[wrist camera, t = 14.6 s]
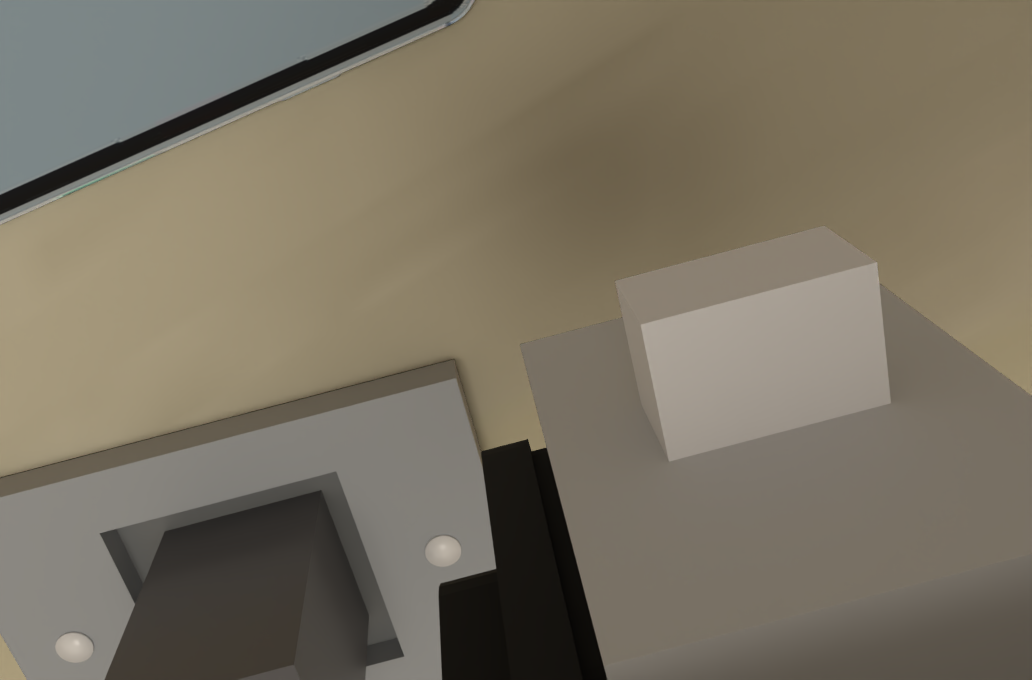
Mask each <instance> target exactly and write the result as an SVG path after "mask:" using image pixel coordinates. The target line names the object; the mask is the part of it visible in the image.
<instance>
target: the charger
mask: <svg viewBox="0 0 1032 680" xmlns="http://www.w3.org/2000/svg"><path fill="white" fill-rule="evenodd" d="M368 625H369V614H368V611H367V608H366V606H365V603H364V601H363V598H362V595H361V593H360V590H359V588H358V585H357V582H356V580H355V577H354V574H353V572H352V569H351V567H350V564H349V561H348V559H347V556H346V553H345V551H344V548H343V546H342V543H341V540H340V538H339V535H338V532H337V530H336V527H335V525H334V522H333V519H332V517H331V514H330V512H329V509H328V506H327V504H326V501H325V498H324V496H323V493H322V491H321V490H319V491H316V492H312V493H308V494H304V495H300V496H297V497H293V498H289V499H285V500H282V501H278V502H274V503H270V504H266V505H263V506H259V507H255V508H251V509H247V510H244V511H240V512H236V513H232V514H228V515H225V516H221V517H217V518H213V519H210V520H206V521H202V522H198V523H194V524H191V525H187V526H183V527H179V528H175V529H172V530H168V531H165V532H164V534H163V537H162V539H161V542H160V544H159V547H158V549H157V552H156V554H155V557H154V559H153V561H152V564H151V566H150V569H149V571H148V574H147V576H146V579H145V581H144V584H143V586H142V589H141V591H140V593H139V596H138V598H137V601H136V603H135V606H134V608H133V611H132V613H131V616H130V618H129V621H128V623H127V625H126V628H125V630H124V633H123V635H122V638H121V640H120V643H119V645H118V648H117V650H116V653H115V655H114V657H113V660H112V662H111V665H110V667H109V670H108V672H107V675H106V677H105V680H365V676H366V659H367V642H368Z"/></svg>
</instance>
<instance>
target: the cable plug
mask: <svg viewBox="0 0 1032 680" xmlns="http://www.w3.org/2000/svg"><path fill="white" fill-rule="evenodd" d="M615 284H616V289H617V294H618V298H619V303H620V308H621V312H622V318H618V319H614V320H610V321H607V322H603V323H599V324H595V325H591V326H588V327H584V328H580V329H576V330H572V331H569V332H565V333H561V334H557V335H553V336H550V337H546V338H542V339H538V340H534V341H531V342H527V343H523V344H520V347H521V351H522V355H523V358H524V362H525V366H526V370H527V374H528V378H529V381H530V385H531V389H532V393H533V397H534V401H535V404H536V408H537V412H538V416H539V420H540V424H541V427H542V431H543V435H544V439H545V443H546V447H547V450H548V454H549V458H550V462H551V466H552V470H553V473H554V477H555V481H556V485H557V489H558V492H559V496H560V500H561V504H562V508H563V512H564V515H565V519H566V523H567V527H568V531H569V535H570V538H571V542H572V546H573V550H574V554H575V558H576V561H577V565H578V569H579V573H580V577H581V581H582V584H583V588H584V592H585V596H586V600H587V604H588V607H589V611H590V615H591V619H592V623H593V627H594V630H595V634H596V638H597V642H598V646H599V649H600V653H601V657H602V661H603V665H604V669H605V672H606V676H607V680H1032V396H1031V395H1030V394H1029V393H1027V392H1026V391H1025V390H1023V389H1022V388H1021V387H1019V386H1018V385H1016V384H1015V383H1014V382H1012V381H1011V380H1010V379H1008V378H1007V377H1006V376H1004V375H1003V374H1002V373H1000V372H999V371H997V370H996V369H995V368H993V367H992V366H991V365H989V364H988V363H987V362H985V361H984V360H983V359H981V358H980V357H979V356H977V355H976V354H974V353H973V352H972V351H970V350H969V349H968V348H966V347H965V346H964V345H962V344H961V343H960V342H958V341H957V340H955V339H954V338H953V337H951V336H950V335H949V334H947V333H946V332H945V331H943V330H942V329H941V328H939V327H938V326H936V325H935V324H934V323H932V322H931V321H930V320H928V319H927V318H926V317H924V316H923V315H922V314H920V313H919V312H918V311H916V310H915V309H913V308H912V307H911V306H909V305H908V304H907V303H905V302H904V301H903V300H901V299H900V298H899V297H897V296H896V295H894V294H893V293H892V292H890V291H889V290H888V289H886V288H885V287H884V286H882V285H881V284H880V283H879V276H878V266H877V262H876V261H875V260H873V259H872V258H870V257H869V256H867V255H866V254H865V253H863V252H862V251H860V250H859V249H857V248H856V247H854V246H853V245H852V244H850V243H849V242H847V241H846V240H844V239H843V238H842V237H840V236H839V235H837V234H836V233H834V232H833V231H831V230H830V229H829V228H827V227H826V226H821V227H817V228H813V229H809V230H805V231H802V232H798V233H794V234H790V235H787V236H783V237H779V238H775V239H771V240H768V241H764V242H760V243H756V244H752V245H749V246H745V247H741V248H737V249H733V250H730V251H726V252H722V253H718V254H714V255H711V256H707V257H703V258H699V259H695V260H692V261H688V262H684V263H680V264H677V265H673V266H669V267H665V268H661V269H658V270H654V271H650V272H646V273H642V274H639V275H635V276H631V277H627V278H623V279H620V280H616V281H615Z"/></svg>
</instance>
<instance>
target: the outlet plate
mask: <svg viewBox="0 0 1032 680" xmlns="http://www.w3.org/2000/svg"><path fill="white" fill-rule="evenodd" d="M319 490H321V491H322V493H323V496H324V498H325V501H326V504H327V506H328V509H329V512H330V514H331V517H332V519H333V522H334V525H335V527H336V530H337V532H338V535H339V538H340V540H341V543H342V546H343V548H344V551H345V553H346V556H347V559H348V561H349V564H350V567H351V569H352V572H353V574H354V577H355V580H356V582H357V585H358V588H359V590H360V593H361V595H362V598H363V601H364V603H365V606H366V608H367V611H368V614H369V625H368V642H367V659H366V676H365V680H442V668H441V645H440V621H439V597H438V596H439V586H440V584H441V583H444V582H448V581H452V580H455V579H459V578H463V577H467V576H471V575H474V574H478V573H482V572H486V571H490V570H493V569H496V563H495V555H494V548H493V540H492V533H491V526H490V518H489V511H488V503H487V496H486V488H485V481H484V473H483V466H482V459H481V449H480V446H479V443H478V439H477V436H476V432H475V429H474V426H473V422H472V419H471V415H470V412H469V409H468V405H467V402H466V398H465V395H464V391H463V388H462V385H461V381H460V378H459V374H458V371H457V368H456V364H455V361H454V359H453V360H449V361H446V362H442V363H438V364H434V365H430V366H427V367H423V368H419V369H415V370H411V371H407V372H404V373H400V374H396V375H392V376H388V377H385V378H381V379H377V380H373V381H369V382H365V383H362V384H358V385H354V386H350V387H346V388H343V389H339V390H335V391H331V392H327V393H323V394H320V395H316V396H312V397H308V398H304V399H300V400H297V401H293V402H289V403H285V404H281V405H278V406H274V407H270V408H266V409H262V410H258V411H255V412H251V413H247V414H243V415H239V416H236V417H232V418H228V419H224V420H220V421H216V422H213V423H209V424H205V425H201V426H197V427H194V428H190V429H186V430H182V431H178V432H174V433H171V434H167V435H163V436H159V437H155V438H152V439H148V440H144V441H140V442H136V443H132V444H129V445H125V446H121V447H117V448H113V449H110V450H106V451H102V452H98V453H94V454H90V455H87V456H83V457H79V458H75V459H71V460H67V461H64V462H60V463H56V464H52V465H48V466H45V467H41V468H37V469H33V470H29V471H25V472H22V473H18V474H14V475H10V476H6V477H3V478H0V634H1V636H2V637H3V639H4V641H5V643H6V644H7V646H8V648H9V649H10V651H11V653H12V655H13V656H14V658H15V660H16V661H17V663H18V665H19V667H20V668H21V670H22V672H23V674H24V675H25V677H26V679H27V680H105V677H106V675H107V672H108V670H109V667H110V665H111V662H112V660H113V657H114V655H115V653H116V650H117V648H118V645H119V643H120V640H121V638H122V635H123V633H124V630H125V628H126V625H127V623H128V621H129V618H130V616H131V613H132V611H133V608H134V606H135V603H136V601H137V598H138V596H139V593H140V591H141V589H142V586H143V584H144V581H145V579H146V576H147V574H148V571H149V569H150V566H151V564H152V561H153V559H154V557H155V554H156V552H157V549H158V547H159V544H160V542H161V539H162V537H163V534H164V532H165V531H168V530H172V529H175V528H179V527H183V526H187V525H191V524H194V523H198V522H202V521H206V520H210V519H213V518H217V517H221V516H225V515H228V514H232V513H236V512H240V511H244V510H247V509H251V508H255V507H259V506H263V505H266V504H270V503H274V502H278V501H282V500H285V499H289V498H293V497H297V496H300V495H304V494H308V493H312V492H316V491H319Z"/></svg>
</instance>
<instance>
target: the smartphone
mask: <svg viewBox="0 0 1032 680" xmlns="http://www.w3.org/2000/svg"><path fill="white" fill-rule="evenodd" d="M474 1H475V0H0V225H1V224H3V223H5V222H7V221H10V220H12V219H14V218H16V217H19V216H21V215H23V214H25V213H28V212H30V211H32V210H34V209H37V208H39V207H41V206H43V205H46V204H48V203H50V202H52V201H55V200H57V199H59V198H61V197H64V196H66V195H68V194H70V193H73V192H75V191H77V190H80V189H82V188H84V187H86V186H89V185H91V184H93V183H95V182H98V181H100V180H102V179H104V178H107V177H109V176H111V175H113V174H116V173H118V172H120V171H122V170H125V169H127V168H129V167H131V166H134V165H136V164H138V163H140V162H143V161H145V160H147V159H149V158H152V157H154V156H156V155H158V154H161V153H163V152H165V151H167V150H170V149H172V148H174V147H176V146H179V145H181V144H183V143H185V142H188V141H190V140H192V139H194V138H197V137H199V136H201V135H203V134H206V133H208V132H210V131H212V130H215V129H217V128H219V127H221V126H224V125H226V124H228V123H230V122H233V121H235V120H237V119H239V118H242V117H244V116H246V115H248V114H251V113H253V112H255V111H258V110H260V109H262V108H264V107H267V106H269V105H271V104H273V103H276V102H278V101H280V100H281V101H284V100H286V99H288V98H291V97H293V96H295V95H297V94H300V93H302V92H304V91H306V90H309V89H311V88H313V87H315V86H318V85H320V84H322V83H324V82H327V81H329V80H331V79H333V78H336V77H338V76H340V75H341V73H343V72H345V71H348V70H350V69H352V68H354V67H357V66H359V65H361V64H363V63H366V62H368V61H370V60H372V59H375V58H377V57H379V56H381V55H384V54H386V53H388V52H390V51H393V50H395V49H397V48H399V47H402V46H404V45H406V44H408V43H411V42H413V41H415V40H417V39H420V38H422V37H424V36H427V35H429V34H431V33H433V32H436V31H438V30H440V29H442V28H445V27H447V26H449V25H451V24H453V23H455V22H457V21H458V20H459V19H461V18H462V17H463V16H464V15H465V14H466V13H467V12H468V11H469V9H470V8H471V6H472V4H473V3H474Z"/></svg>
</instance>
